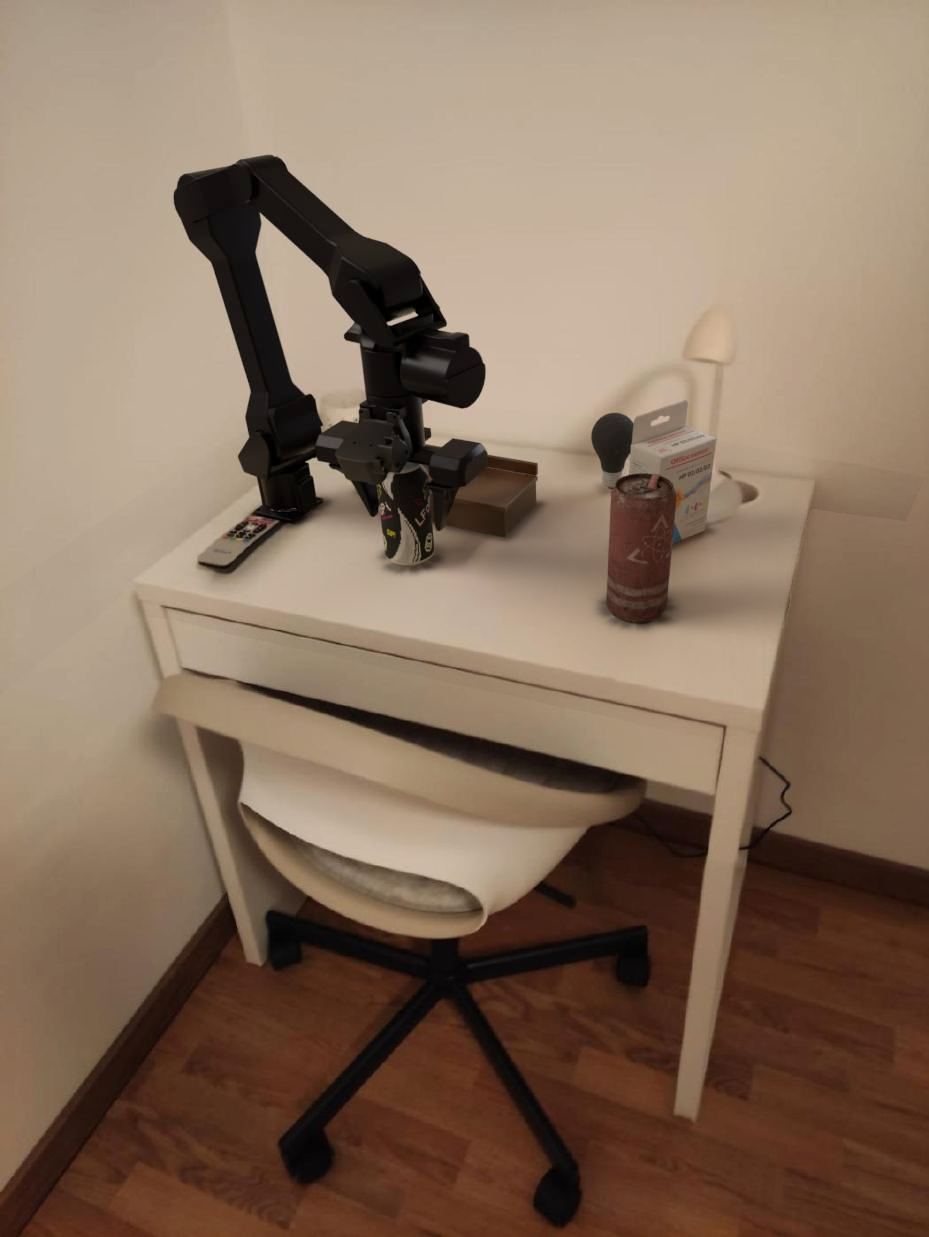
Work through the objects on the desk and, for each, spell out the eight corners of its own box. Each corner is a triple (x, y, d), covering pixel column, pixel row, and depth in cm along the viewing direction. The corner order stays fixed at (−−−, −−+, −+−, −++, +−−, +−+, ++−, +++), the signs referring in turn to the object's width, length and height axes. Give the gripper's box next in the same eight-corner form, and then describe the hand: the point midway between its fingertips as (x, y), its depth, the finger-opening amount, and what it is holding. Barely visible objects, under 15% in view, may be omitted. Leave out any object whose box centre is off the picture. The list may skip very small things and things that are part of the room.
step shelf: (389, 513, 111) (384, 473, 108) (427, 482, 118) (424, 443, 115) (506, 538, 104) (504, 496, 101) (539, 503, 111) (539, 463, 108)
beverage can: (420, 574, 99) (411, 476, 92) (376, 565, 101) (364, 468, 94) (443, 550, 103) (435, 454, 96) (400, 541, 105) (390, 448, 98)
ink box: (653, 553, 99) (663, 430, 91) (623, 537, 103) (630, 416, 95) (707, 530, 103) (721, 410, 95) (676, 515, 107) (687, 397, 98)
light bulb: (640, 483, 114) (645, 409, 109) (622, 501, 110) (626, 425, 105) (601, 475, 117) (603, 403, 111) (582, 492, 113) (584, 418, 107)
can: (673, 596, 92) (684, 474, 84) (657, 629, 87) (668, 503, 79) (616, 586, 94) (623, 466, 86) (598, 617, 90) (603, 493, 82)
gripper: (271, 403, 89) (297, 539, 97) (432, 429, 81) (443, 574, 90) (335, 368, 96) (353, 497, 105) (487, 389, 89) (492, 525, 97)
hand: (406, 522), depth 99 cm, fingers open, 8 cm apart
